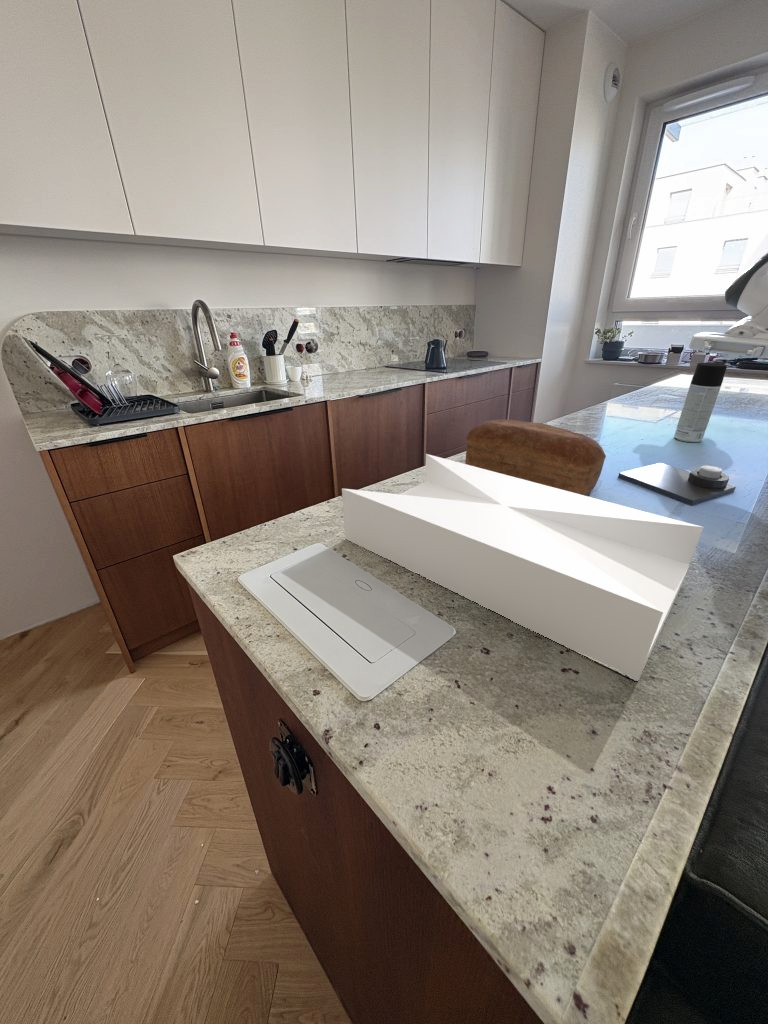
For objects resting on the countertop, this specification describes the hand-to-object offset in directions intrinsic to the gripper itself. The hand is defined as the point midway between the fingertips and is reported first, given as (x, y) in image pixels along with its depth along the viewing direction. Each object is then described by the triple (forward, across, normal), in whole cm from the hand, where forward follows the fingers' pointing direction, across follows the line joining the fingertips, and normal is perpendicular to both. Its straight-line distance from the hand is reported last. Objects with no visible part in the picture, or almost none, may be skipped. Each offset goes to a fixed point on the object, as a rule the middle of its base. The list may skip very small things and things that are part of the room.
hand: (727, 351), depth 110 cm
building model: (+99, -5, +9) cm, 100 cm away
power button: (+45, +11, +13) cm, 48 cm away
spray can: (+11, 0, +21) cm, 24 cm away
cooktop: (+48, +6, +15) cm, 51 cm away
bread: (+68, -17, +14) cm, 71 cm away
